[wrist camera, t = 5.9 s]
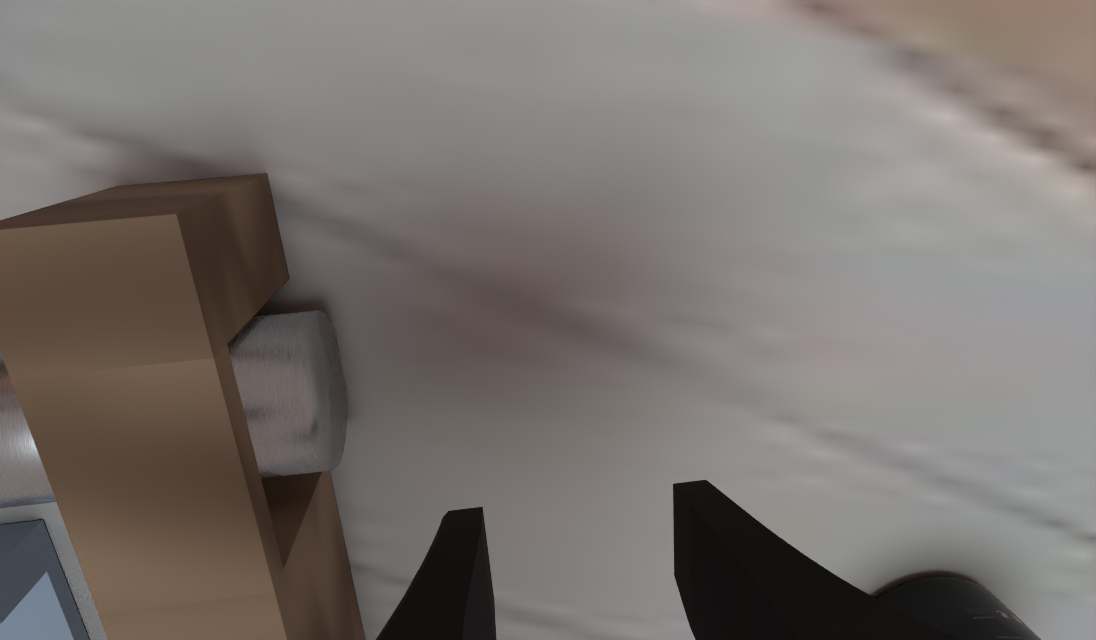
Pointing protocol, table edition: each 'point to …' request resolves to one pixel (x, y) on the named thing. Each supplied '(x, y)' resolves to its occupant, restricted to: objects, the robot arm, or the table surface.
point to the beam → (166, 413)
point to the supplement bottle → (957, 609)
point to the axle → (267, 397)
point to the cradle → (34, 587)
